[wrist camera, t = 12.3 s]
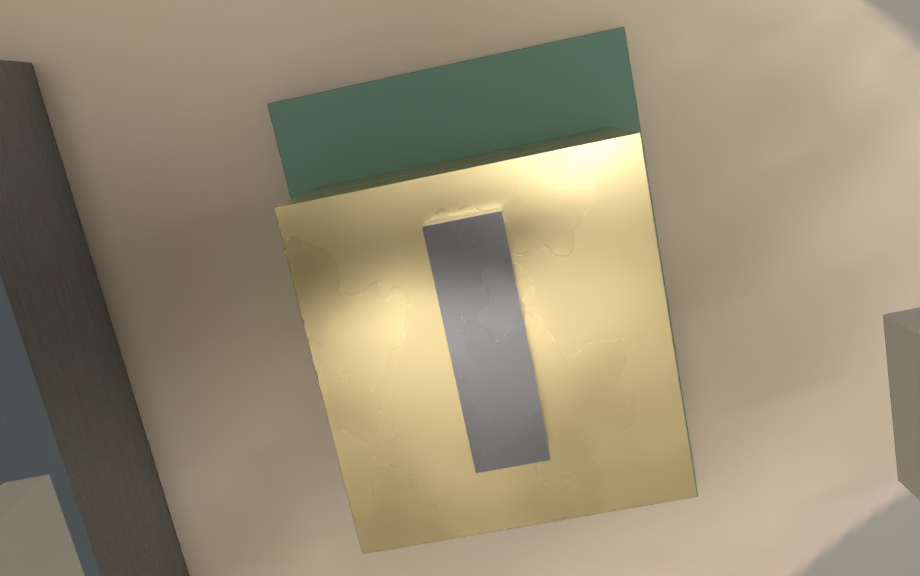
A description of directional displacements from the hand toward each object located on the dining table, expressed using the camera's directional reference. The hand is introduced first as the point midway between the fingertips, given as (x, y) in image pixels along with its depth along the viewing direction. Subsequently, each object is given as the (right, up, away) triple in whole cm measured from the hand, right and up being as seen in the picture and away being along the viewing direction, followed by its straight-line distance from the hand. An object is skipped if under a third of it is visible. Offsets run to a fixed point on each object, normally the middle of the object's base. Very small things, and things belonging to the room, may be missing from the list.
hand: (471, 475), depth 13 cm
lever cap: (+1, +2, +11) cm, 12 cm away
